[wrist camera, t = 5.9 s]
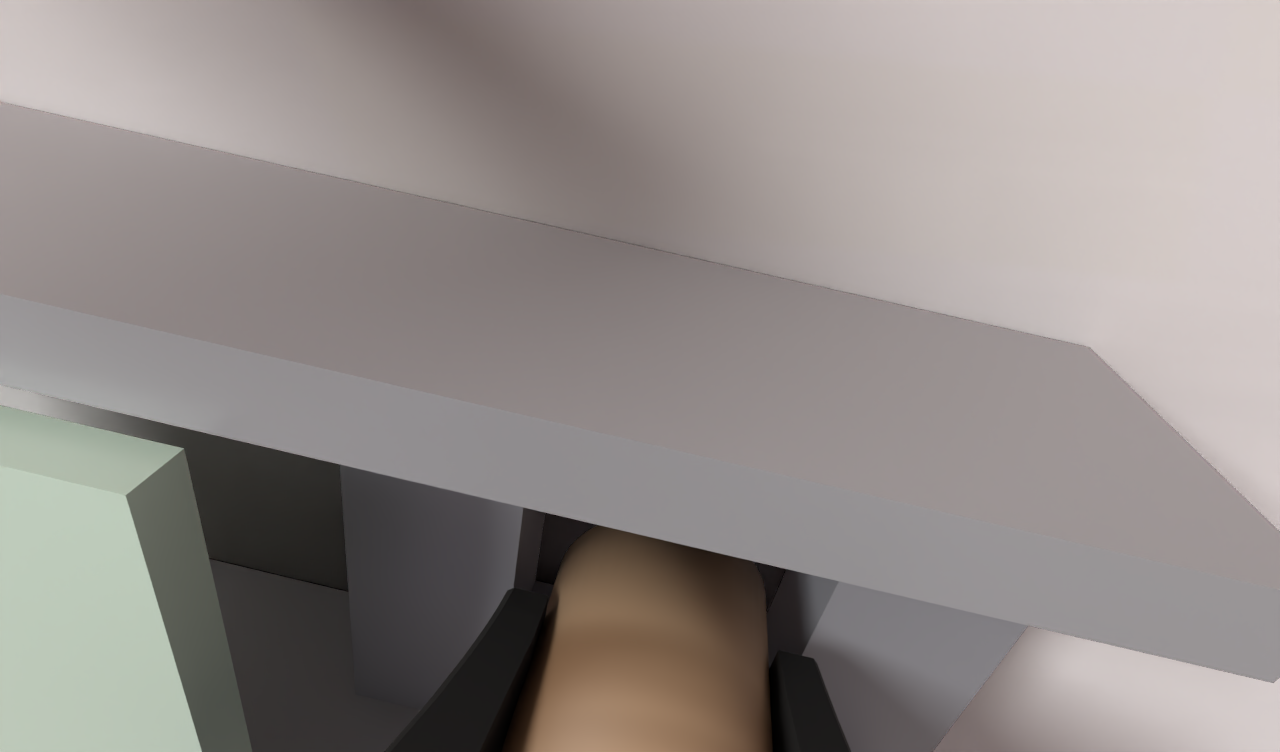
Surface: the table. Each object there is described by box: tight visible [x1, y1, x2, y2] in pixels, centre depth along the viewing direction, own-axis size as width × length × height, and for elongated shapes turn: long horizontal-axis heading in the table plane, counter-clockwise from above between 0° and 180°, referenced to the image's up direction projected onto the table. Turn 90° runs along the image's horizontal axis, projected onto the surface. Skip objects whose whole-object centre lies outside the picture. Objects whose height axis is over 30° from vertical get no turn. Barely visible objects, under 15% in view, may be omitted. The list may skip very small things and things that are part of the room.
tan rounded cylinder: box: [501, 525, 773, 752], centre depth 10 cm, size 4×4×5 cm
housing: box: [0, 102, 1280, 752], centre depth 12 cm, size 12×24×6 cm, turn 80°
